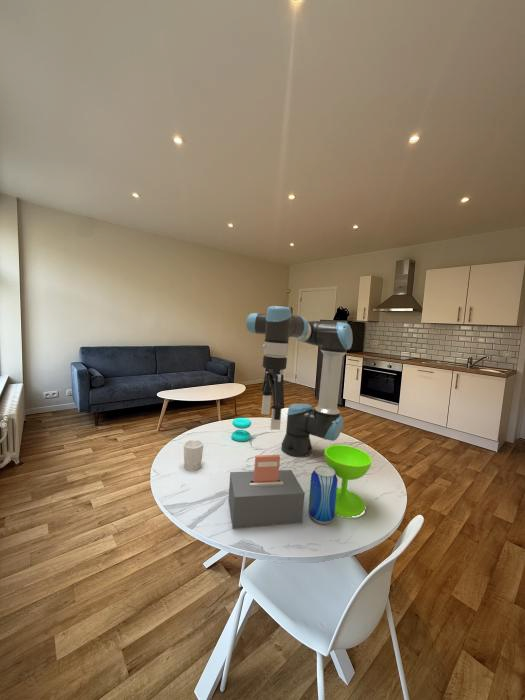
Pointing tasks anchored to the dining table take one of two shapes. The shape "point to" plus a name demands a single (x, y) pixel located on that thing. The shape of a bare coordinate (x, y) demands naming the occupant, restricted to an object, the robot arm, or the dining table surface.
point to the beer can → (323, 494)
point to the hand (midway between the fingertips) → (269, 421)
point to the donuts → (241, 434)
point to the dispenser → (265, 500)
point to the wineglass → (347, 476)
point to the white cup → (193, 454)
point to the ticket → (266, 468)
